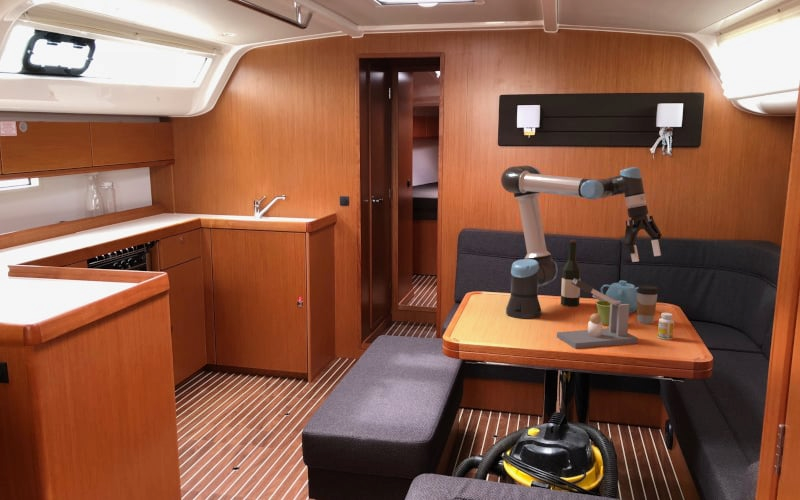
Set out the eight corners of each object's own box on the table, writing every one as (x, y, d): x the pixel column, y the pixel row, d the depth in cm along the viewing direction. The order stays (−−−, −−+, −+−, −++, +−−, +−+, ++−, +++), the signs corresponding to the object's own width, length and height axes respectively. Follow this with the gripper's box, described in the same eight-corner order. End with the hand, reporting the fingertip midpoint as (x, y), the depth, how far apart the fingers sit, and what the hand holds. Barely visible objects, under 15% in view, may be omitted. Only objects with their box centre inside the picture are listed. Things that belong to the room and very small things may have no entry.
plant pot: (619, 322, 268) (620, 302, 266) (616, 328, 259) (618, 307, 258) (596, 319, 272) (597, 299, 270) (593, 325, 263) (594, 304, 262)
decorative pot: (595, 307, 292) (596, 277, 290) (627, 305, 296) (628, 276, 294) (614, 316, 277) (616, 285, 274) (647, 314, 280) (649, 283, 278)
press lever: (570, 284, 239) (573, 277, 239) (616, 309, 246) (620, 302, 245) (575, 287, 235) (578, 279, 235) (621, 311, 242) (625, 304, 242)
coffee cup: (657, 325, 263) (660, 289, 260) (636, 324, 265) (638, 288, 262) (654, 320, 271) (656, 285, 268) (633, 318, 273) (635, 284, 270)
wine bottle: (559, 302, 301) (562, 238, 296) (578, 302, 300) (581, 239, 295) (561, 306, 293) (564, 241, 288) (580, 307, 292) (583, 242, 287)
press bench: (556, 337, 247) (558, 302, 245) (616, 332, 253) (618, 297, 251) (575, 348, 234) (577, 311, 231) (637, 343, 240) (640, 306, 238)
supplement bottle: (660, 340, 244) (662, 315, 242) (655, 335, 249) (657, 311, 247) (674, 340, 244) (676, 315, 242) (669, 336, 249) (671, 312, 247)
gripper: (623, 208, 245) (634, 263, 245) (664, 200, 258) (674, 252, 258) (608, 211, 252) (618, 264, 252) (648, 203, 265) (658, 254, 265)
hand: (646, 258), depth 255 cm, fingers open, 13 cm apart
